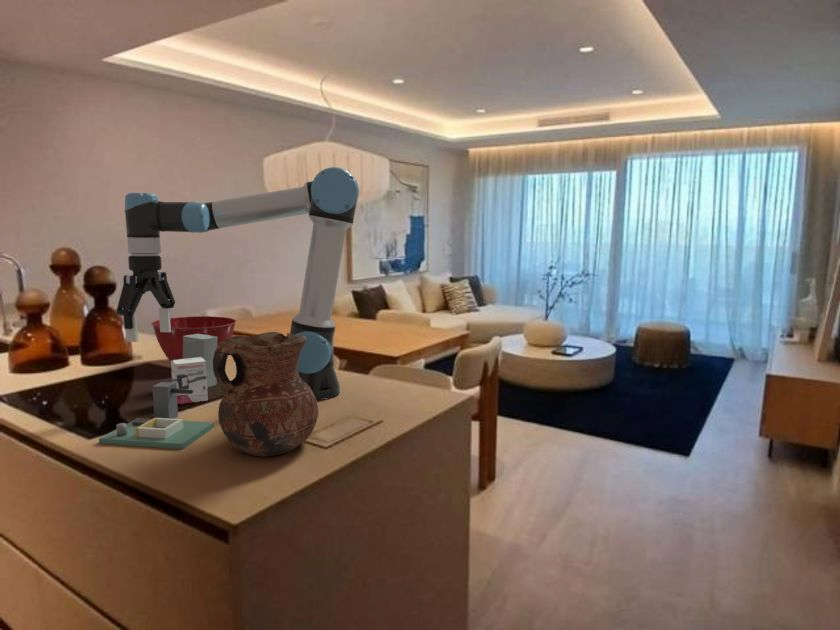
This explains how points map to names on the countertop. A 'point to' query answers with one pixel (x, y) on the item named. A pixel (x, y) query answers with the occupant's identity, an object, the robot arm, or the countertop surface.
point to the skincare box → (201, 352)
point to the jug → (264, 394)
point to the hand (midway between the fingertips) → (149, 336)
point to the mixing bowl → (191, 332)
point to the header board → (157, 433)
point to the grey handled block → (166, 399)
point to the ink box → (190, 379)
